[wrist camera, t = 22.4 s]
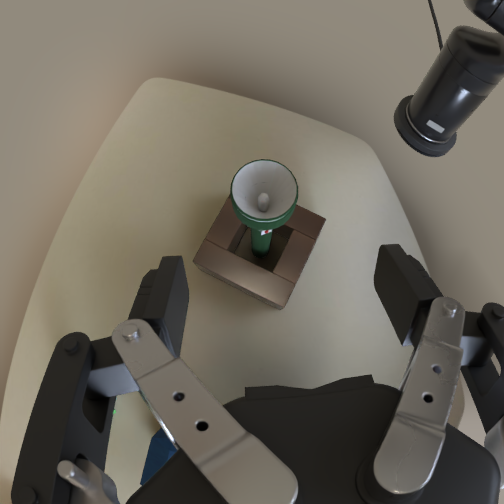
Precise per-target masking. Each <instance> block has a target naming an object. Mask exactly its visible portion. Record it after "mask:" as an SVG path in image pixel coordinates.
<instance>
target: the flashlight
mask: <svg viewBox="0 0 504 504" xmlns="http://www.w3.org/2000/svg"><path fill="white" fill-rule="evenodd" d="M230 196H231V202H232V207H233V210H234V212H235V214H236V216H237V218H238V219H239V220H240V221H241V222H242V223H243V224H245V225H247V226H248V227H250V228H251V244H252V253H253V255H254V256H255V257H257V258H263V257H265V256H266V255H267V254H268V252H269V247H270V241H271V236H272V230H273V229H276V228H278V227H280V226H282V225H283V224H284V223H286V222H287V221H288V220H289V218H290V217H291V215H292V214H293V212H294V209H295V206H296V203H297V199H298V185H297V182H296V179H295V177H294V176H293V174H292V172H291V171H290V170H289V169H288V168H287V167H286V166H284V165H282V164H280V163H279V162H276V161H272V160H264V159H261V160H255V161H252V162H250V163H247V164H245V165H244V166H243V167H242V168H240V169H239V170H238V172H237V173H236V174H235V176H234V178H233V180H232V183H231V190H230Z"/></svg>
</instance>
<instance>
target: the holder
mask: <svg viewBox="0 0 504 504" xmlns="http://www.w3.org/2000/svg"><path fill="white" fill-rule="evenodd" d="M325 221H326V219H325V218H323V217H321V216H319V215H317V214H315V213H313V212H311V211H309V210H307V209H305V208H303V207H301V206H298V205H296V206H295V209H294V212H293V214H292V215H291V217H290V218H289V220H288V221H287V222H286V223H284V224H283V225H282V226H280V227H278V228H276V229H273V230H272V232H274V233H277V234H279V235H281V236H283V237H285V238H287V239H289V240H288V242H287V244H286V246H285V248H284V250H283V252H282V254H281V256H280V258H279V260H278V262H277V264H276V266H275V268H274V270H273V272H270V271H268V270H266V269H264V268H262V267H260V266H258V265H256V264H254V263H252V262H250V261H248V260H246V259H244V258H242V257H240V256H238V255H235V254H233V252H234V251H235V249H236V247H237V245H238V243H239V241H240V239H241V237H242V236H243V234H244V232H245V230H246V228H247V225H245V224H243V223H242V222H241V221H240V220H239V219H238V218H237V216H236V214H235V212H234V210H233V207H232V202H231V196H230V195H229V197H228V199H227V200H226V202H225V204H224V206H223V207H222V209H221V211H220V213H219V215H218V216H217V218H216V220H215V222H214V223H213V225H212V227H211V229H210V231H209V232H208V234H207V236H206V238H205V239H204V241H203V243H202V245H201V247H200V249H199V250H198V252H197V254H196V256H195V258H194V260H193V262H194V263H195V264H196V266H197V267H198V268H199V269H201V270H203V271H205V272H207V273H209V274H210V275H212V276H214V277H216V278H218V279H220V280H222V281H224V282H226V283H228V284H230V285H232V286H234V287H236V288H238V289H240V290H242V291H244V292H246V293H248V294H250V295H252V296H254V297H256V298H258V299H259V300H262V301H264V302H266V303H268V304H270V305H272V306H274V307H276V308H278V309H280V310H281V309H283V308H284V307H285V305H286V303H287V301H288V299H289V297H290V295H291V293H292V291H293V289H294V287H295V284H296V283H297V281H298V278H299V276H300V274H301V272H302V270H303V268H304V266H305V264H306V262H307V260H308V257H309V255H310V253H311V251H312V249H313V247H314V245H315V242H316V240H317V238H318V236H319V234H320V232H321V229H322V227H323V225H324V223H325Z"/></svg>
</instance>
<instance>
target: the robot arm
mask: <svg viewBox="0 0 504 504" xmlns="http://www.w3.org/2000/svg"><path fill="white" fill-rule="evenodd" d="M428 2H429V6H430V9H431V13H432V17H433V20H434V24H435V28H436V32H437V36H438V42H439V47H440V53H439V55H438V56H437V58H436V60H435V62H434V63H433V65H432V67H431V68H430V70H429V72H428V73H427V75H426V76H425V78H424V80H423V82H422V83H421V85H420V86H419V88H418V90H417V91H416V93H415V94H414V96H413V97H412V99H411V100H410V101H409V103H408V104H407V106H406V108H405V116H406V120H407V122H408V124H409V126H410V127H411V129H412V130H413V131H414V132H415V133H416V134H417V135H418V136H419V137H421V138H422V139H423V140H425V141H427V142H429V143H432V144H437V145H440V144H444V143H446V142H447V141H448V140H449V139H450V138H451V137H452V135H453V134H454V133H455V132H456V131H457V130H458V129H459V128H460V127H461V125H462V124H463V123H464V122H465V121H466V120H467V119H468V118H469V117H470V116H471V114H472V113H473V112H474V111H475V110H476V109H477V108H478V106H479V105H480V104H481V103H482V102H483V101H484V100H485V98H486V97H487V96H488V95H489V94H490V93H491V91H492V90H493V89H494V88H495V87H496V85H497V84H498V83H499V82H500V81H501V80H502V78H503V77H504V0H464V3H465V5H466V7H467V8H468V9H469V10H470V11H471V12H472V13H473V14H474V15H476V16H477V17H478V18H480V19H481V20H483V21H484V22H485V23H487V24H488V25H489V26H491V27H492V28H494V29H495V30H496V31H498V32H499V33H492V32H486V31H482V30H479V29H476V28H473V27H470V26H457V27H456V28H454V29H453V31H452V32H451V34H450V35H449V37H448V39H447V41H446V43H445V44H444V46H443V44H442V40H441V35H440V31H439V27H438V23H437V20H436V16H435V13H434V9H433V6H432V2H431V0H428ZM374 286H375V290H376V292H377V294H378V296H379V298H380V300H381V302H382V304H383V306H384V308H385V310H386V312H387V314H388V317H389V319H390V321H391V323H392V325H393V327H394V329H395V331H396V334H397V336H398V338H399V340H400V342H401V345H402V346H407V345H413V346H414V350H413V352H412V355H411V357H410V360H409V363H408V365H407V368H406V371H405V373H404V376H403V378H402V381H401V383H400V386H399V388H398V389H396V388H394V387H391V386H388V385H384V384H378V383H374V381H373V377H372V374H371V375H364V376H358V377H351V378H344V379H340V380H337V381H335V382H332V383H329V384H326V385H324V386H321V387H318V388H315V389H302V388H294V387H286V386H278V385H276V386H260V387H245V396H244V397H241V398H238V399H235V400H233V401H231V402H229V403H227V404H225V405H223V406H222V405H221V404H220V403H219V402H218V401H217V399H216V398H215V397H214V396H213V395H212V394H211V393H210V392H209V390H208V389H207V388H206V387H205V386H204V385H203V384H202V382H201V381H200V380H199V379H198V378H197V377H196V375H195V374H194V373H193V372H192V371H191V369H190V368H189V367H188V366H187V365H186V364H185V362H184V361H183V360H182V359H181V358H180V350H181V344H182V338H183V332H184V326H185V320H186V315H187V309H188V303H189V288H188V283H187V278H186V273H185V268H184V263H183V258H182V256H166V257H162V260H161V262H160V265H159V268H158V269H154V270H150V271H149V272H148V273H147V274H146V275H145V276H144V277H143V279H142V282H141V285H140V288H139V290H138V292H137V296H136V298H135V301H134V303H133V306H132V309H131V312H130V314H129V317H128V320H126V321H124V322H122V323H120V324H119V325H118V326H117V327H116V328H115V329H114V331H113V333H112V336H110V337H107V338H103V339H99V340H95V341H90V339H89V337H88V336H87V335H86V334H84V333H81V332H74V333H70V334H67V335H66V336H64V337H63V338H61V339H60V340H59V342H58V343H57V345H56V347H55V349H54V352H53V354H52V357H51V359H50V362H49V364H48V367H47V370H46V372H45V375H44V378H43V381H42V383H41V386H40V389H39V392H38V395H37V398H36V401H35V404H34V407H33V410H32V413H31V416H30V419H29V423H28V426H27V429H26V433H25V436H24V440H23V444H22V447H21V451H20V455H19V459H18V463H17V467H16V472H15V476H14V481H13V486H12V491H11V500H12V504H120V503H119V501H118V498H117V489H116V485H115V483H114V481H113V480H112V479H111V478H110V477H109V476H108V475H107V474H105V473H104V469H105V462H106V455H107V448H108V441H109V435H110V429H111V423H112V417H113V412H114V406H115V401H116V396H117V395H121V394H125V393H130V392H134V391H138V392H139V394H140V395H141V397H142V398H143V400H144V401H145V403H146V405H147V406H148V408H149V409H150V411H151V412H152V414H153V415H154V417H155V418H156V420H157V421H158V423H159V424H160V426H161V427H162V429H163V430H164V432H165V433H166V435H167V436H168V438H169V439H170V441H171V442H172V443H173V445H174V446H175V448H176V449H177V450H178V451H177V452H176V453H175V454H174V455H173V456H172V457H171V458H170V459H169V460H168V461H167V462H166V463H165V464H164V465H163V466H162V467H161V468H160V469H159V470H158V471H157V472H156V473H155V474H154V475H153V476H152V477H151V478H150V479H149V480H148V481H147V482H145V483H144V484H143V485H142V486H141V487H140V488H139V489H138V490H137V491H136V492H135V493H134V494H133V495H132V496H131V497H130V498H129V499H128V501H127V502H126V504H498V499H499V492H500V489H502V488H504V307H503V306H501V305H500V304H497V303H487V304H485V305H484V306H483V308H482V311H481V313H476V312H467V311H465V310H464V308H463V306H462V305H461V304H460V303H459V302H458V301H456V300H454V299H452V298H449V297H444V296H443V295H442V293H441V292H440V290H439V289H438V287H437V286H436V285H435V283H434V282H433V280H432V279H431V277H429V275H428V273H427V272H426V271H425V269H424V268H423V266H422V265H421V263H420V262H419V261H418V260H416V259H415V258H413V257H412V256H411V255H407V254H406V253H405V252H404V250H403V249H402V247H401V246H400V245H399V244H388V245H381V246H380V248H379V253H378V258H377V263H376V269H375V274H374ZM493 353H494V354H495V355H496V357H497V359H498V361H499V363H500V366H501V374H500V376H499V374H498V372H497V370H496V368H495V366H494V364H493V362H492V360H491V357H492V355H493ZM460 370H461V372H462V374H463V376H464V378H465V381H466V383H467V386H468V388H469V391H470V393H471V396H472V398H473V400H474V403H475V405H476V408H477V411H478V413H479V416H480V419H481V421H482V424H483V427H484V430H485V432H486V437H485V441H484V446H485V448H484V447H483V446H481V445H480V444H478V443H477V442H475V441H474V440H472V439H471V438H469V437H468V436H466V435H465V434H463V433H462V432H460V431H459V430H458V429H456V428H455V427H453V426H452V425H450V424H449V423H447V420H448V417H449V413H450V410H451V406H452V402H453V398H454V394H455V390H456V386H457V382H458V377H459V373H460Z"/></svg>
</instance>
